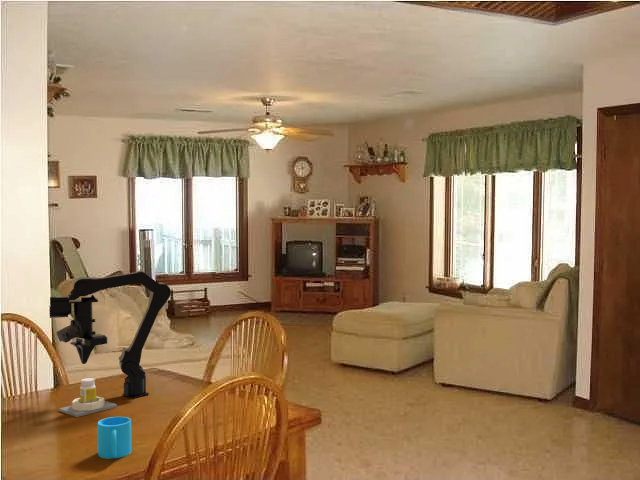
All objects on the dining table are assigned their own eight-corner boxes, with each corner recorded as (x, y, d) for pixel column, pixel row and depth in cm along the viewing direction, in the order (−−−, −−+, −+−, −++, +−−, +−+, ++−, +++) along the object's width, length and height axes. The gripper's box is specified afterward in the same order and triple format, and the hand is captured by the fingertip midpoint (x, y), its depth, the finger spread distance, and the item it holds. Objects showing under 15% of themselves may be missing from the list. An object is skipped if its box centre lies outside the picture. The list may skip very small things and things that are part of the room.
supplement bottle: (98, 404, 216) (98, 378, 216) (92, 408, 211) (92, 381, 211) (84, 404, 216) (83, 377, 216) (77, 408, 212) (77, 381, 211)
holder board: (98, 401, 222) (98, 392, 222) (117, 406, 216) (116, 397, 216) (59, 411, 212) (58, 402, 212) (76, 417, 205) (76, 407, 205)
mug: (98, 449, 177) (98, 418, 177) (131, 446, 180) (130, 415, 179) (96, 465, 166) (95, 432, 166) (131, 462, 168) (130, 429, 168)
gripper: (44, 316, 223) (45, 364, 223) (76, 322, 211) (77, 372, 211) (76, 312, 231) (76, 358, 232) (108, 317, 220) (108, 366, 220)
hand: (84, 363), depth 224 cm, fingers closed
